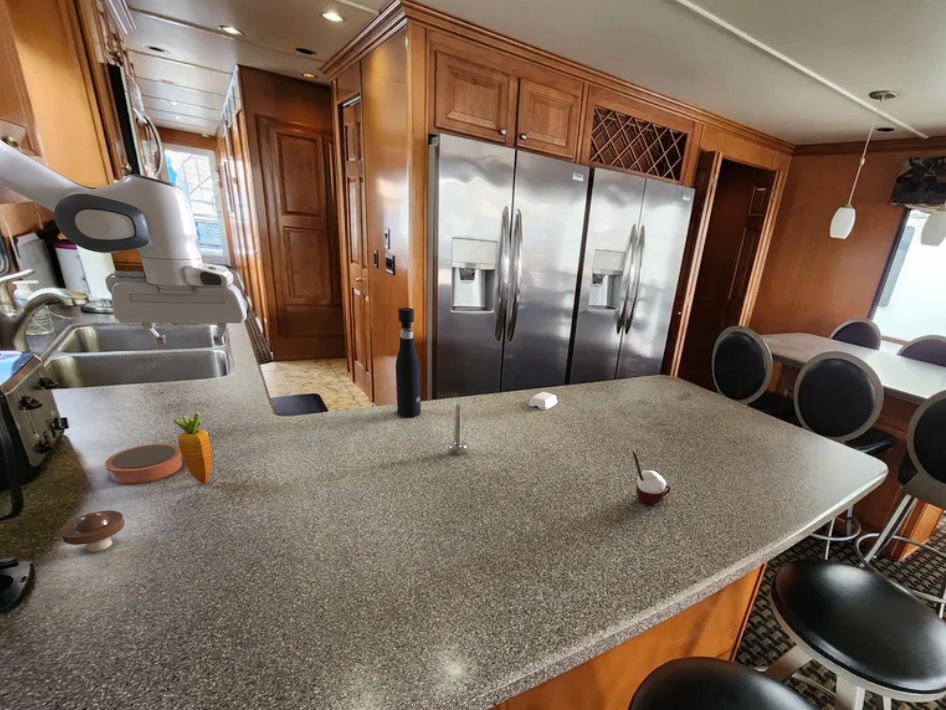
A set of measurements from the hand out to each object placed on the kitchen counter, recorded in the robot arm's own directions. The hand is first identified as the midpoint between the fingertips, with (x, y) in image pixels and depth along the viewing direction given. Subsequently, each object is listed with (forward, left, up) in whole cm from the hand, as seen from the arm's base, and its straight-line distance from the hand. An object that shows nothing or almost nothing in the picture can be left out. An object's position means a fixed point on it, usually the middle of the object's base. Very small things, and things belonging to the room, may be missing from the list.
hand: (191, 344), depth 91 cm
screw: (+47, +24, -25) cm, 58 cm away
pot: (-6, -9, -25) cm, 28 cm away
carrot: (+8, -9, -25) cm, 28 cm away
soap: (+57, +66, -25) cm, 91 cm away
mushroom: (+10, -29, -25) cm, 39 cm away
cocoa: (+94, +21, -25) cm, 99 cm away
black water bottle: (+24, +40, -25) cm, 53 cm away
